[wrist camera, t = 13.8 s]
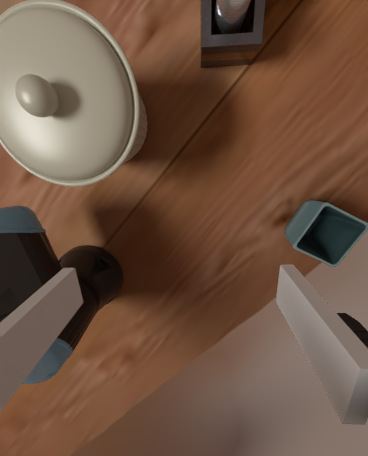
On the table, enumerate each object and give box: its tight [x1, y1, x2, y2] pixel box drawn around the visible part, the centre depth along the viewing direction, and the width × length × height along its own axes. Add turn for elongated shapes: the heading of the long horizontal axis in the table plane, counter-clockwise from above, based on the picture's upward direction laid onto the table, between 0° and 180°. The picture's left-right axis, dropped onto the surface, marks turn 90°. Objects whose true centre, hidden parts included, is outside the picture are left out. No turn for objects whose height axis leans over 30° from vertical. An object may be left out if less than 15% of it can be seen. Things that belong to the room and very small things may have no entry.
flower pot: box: [285, 200, 368, 267], centre depth 38 cm, size 9×9×9 cm
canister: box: [0, 0, 148, 187], centre depth 29 cm, size 18×18×21 cm
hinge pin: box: [212, 0, 250, 35], centre depth 27 cm, size 4×4×14 cm
